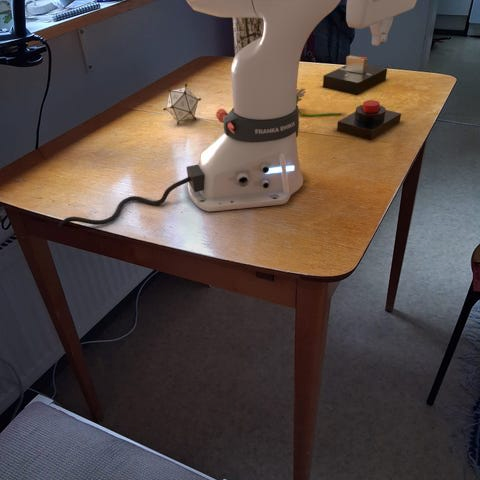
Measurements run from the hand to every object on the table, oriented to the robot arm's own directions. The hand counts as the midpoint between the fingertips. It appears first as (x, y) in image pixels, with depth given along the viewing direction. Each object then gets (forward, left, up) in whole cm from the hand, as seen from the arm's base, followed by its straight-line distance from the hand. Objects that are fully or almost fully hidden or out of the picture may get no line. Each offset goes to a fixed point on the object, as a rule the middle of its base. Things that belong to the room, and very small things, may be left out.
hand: (378, 43), depth 99 cm
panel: (+10, +28, -17) cm, 34 cm away
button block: (0, 0, -17) cm, 17 cm away
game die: (-39, +22, -17) cm, 48 cm away
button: (0, 0, -13) cm, 13 cm away
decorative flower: (-9, +14, -17) cm, 24 cm away
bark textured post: (-24, +12, -17) cm, 32 cm away
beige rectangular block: (+10, +28, -14) cm, 33 cm away
